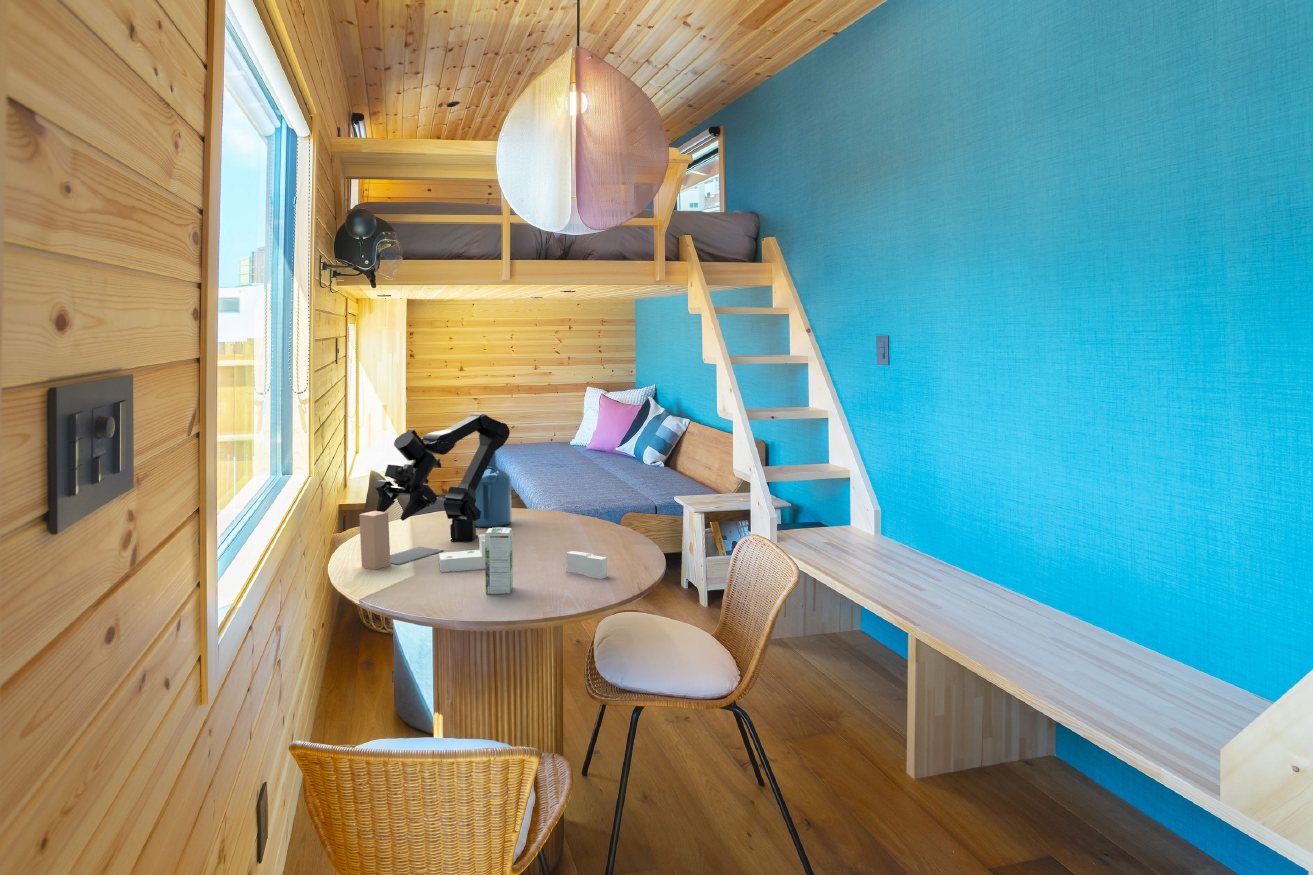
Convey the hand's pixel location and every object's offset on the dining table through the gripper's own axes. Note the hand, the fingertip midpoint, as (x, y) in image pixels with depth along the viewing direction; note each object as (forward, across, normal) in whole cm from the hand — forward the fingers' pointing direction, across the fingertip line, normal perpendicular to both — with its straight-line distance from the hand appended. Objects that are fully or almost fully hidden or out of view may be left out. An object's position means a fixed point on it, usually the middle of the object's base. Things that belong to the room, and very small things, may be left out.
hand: (389, 517), depth 216 cm
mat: (+4, 0, +13) cm, 14 cm away
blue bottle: (-26, -7, +42) cm, 50 cm away
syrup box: (+13, +42, +4) cm, 45 cm away
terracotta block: (+12, 0, +5) cm, 13 cm away
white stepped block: (-2, +53, +19) cm, 56 cm away
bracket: (+4, +21, +13) cm, 25 cm away
